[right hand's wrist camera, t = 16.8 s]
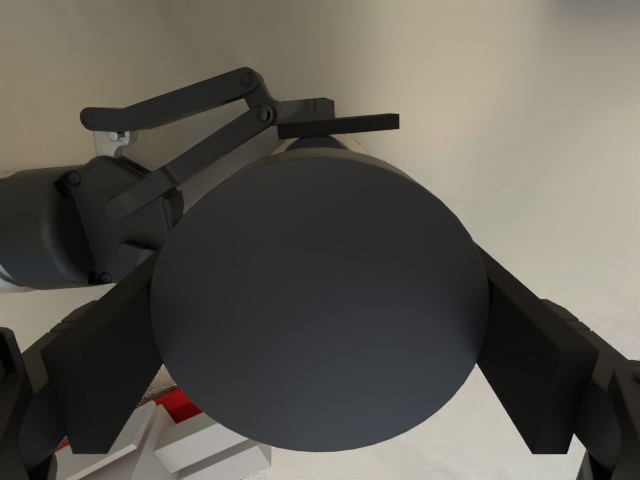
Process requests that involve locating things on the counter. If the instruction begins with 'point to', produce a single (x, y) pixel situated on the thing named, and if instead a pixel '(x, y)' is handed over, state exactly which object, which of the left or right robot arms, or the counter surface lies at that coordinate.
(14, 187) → the left robot arm
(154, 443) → the toy
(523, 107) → the counter surface
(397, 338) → the lid
